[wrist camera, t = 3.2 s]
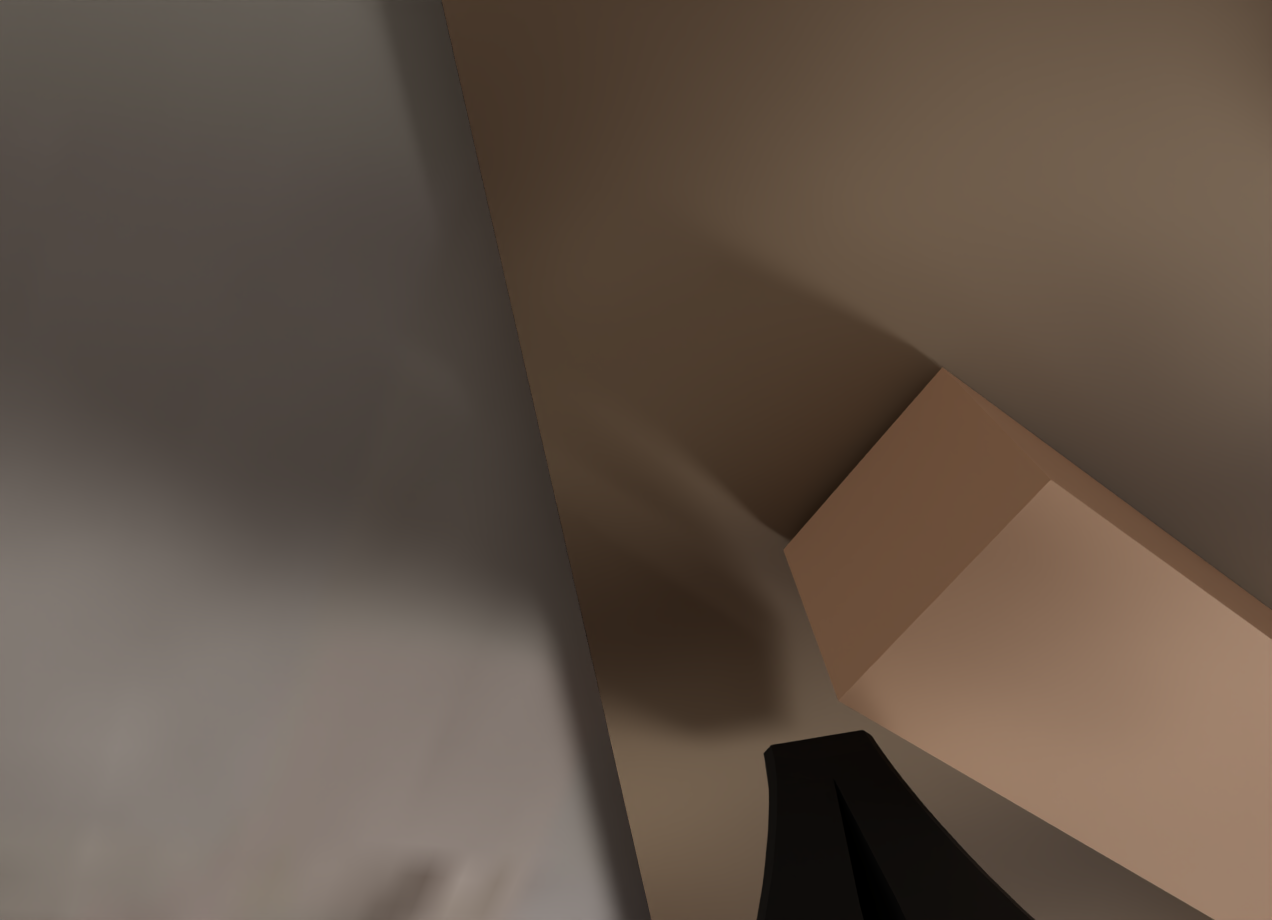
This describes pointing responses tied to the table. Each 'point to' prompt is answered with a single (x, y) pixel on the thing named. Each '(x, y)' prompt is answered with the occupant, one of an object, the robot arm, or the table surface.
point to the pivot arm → (1050, 646)
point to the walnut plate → (862, 339)
